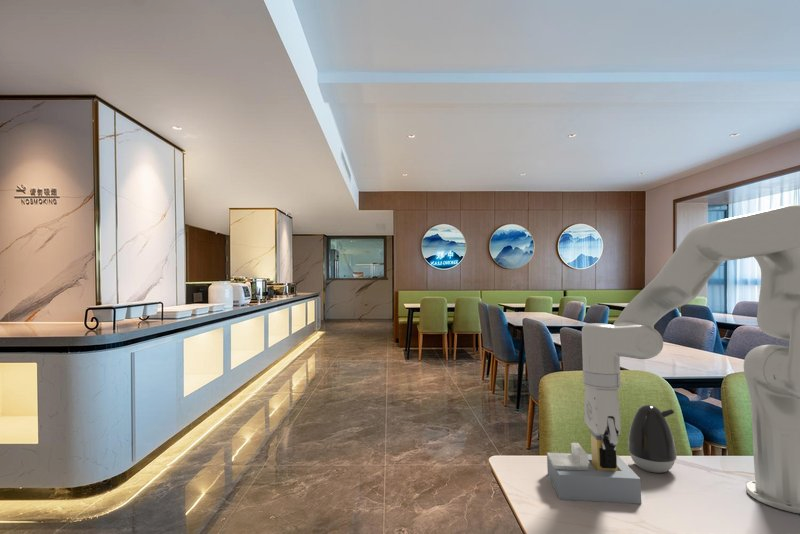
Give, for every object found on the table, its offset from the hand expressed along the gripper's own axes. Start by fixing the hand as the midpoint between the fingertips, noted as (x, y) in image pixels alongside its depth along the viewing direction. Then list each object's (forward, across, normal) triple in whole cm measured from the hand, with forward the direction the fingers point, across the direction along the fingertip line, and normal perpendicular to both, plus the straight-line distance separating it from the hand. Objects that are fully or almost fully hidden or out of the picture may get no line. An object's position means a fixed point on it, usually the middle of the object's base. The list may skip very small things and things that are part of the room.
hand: (604, 462), depth 92 cm
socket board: (+6, 0, -3) cm, 6 cm away
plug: (+2, 0, 0) cm, 2 cm away
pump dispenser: (+6, -12, +15) cm, 20 cm away
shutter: (+1, 0, -8) cm, 8 cm away
